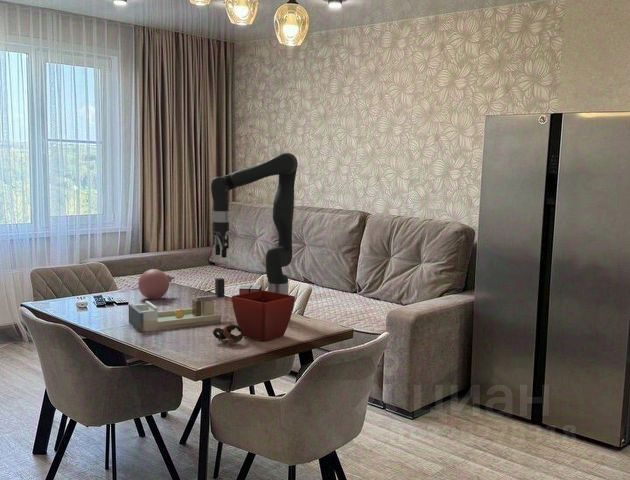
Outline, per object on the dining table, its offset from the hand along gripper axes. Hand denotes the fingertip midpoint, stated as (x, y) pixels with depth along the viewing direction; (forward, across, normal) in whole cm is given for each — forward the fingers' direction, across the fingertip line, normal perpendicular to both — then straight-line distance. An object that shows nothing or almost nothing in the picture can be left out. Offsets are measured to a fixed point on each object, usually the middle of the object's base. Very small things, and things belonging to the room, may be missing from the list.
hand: (220, 256), depth 288 cm
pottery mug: (+28, -42, +11) cm, 52 cm away
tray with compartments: (+28, -2, +21) cm, 35 cm away
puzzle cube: (+28, +14, -20) cm, 37 cm away
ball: (+24, -2, +20) cm, 32 cm away
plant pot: (+28, -38, -5) cm, 48 cm away
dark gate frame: (+26, -2, +6) cm, 27 cm away
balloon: (+28, +50, +17) cm, 60 cm away
